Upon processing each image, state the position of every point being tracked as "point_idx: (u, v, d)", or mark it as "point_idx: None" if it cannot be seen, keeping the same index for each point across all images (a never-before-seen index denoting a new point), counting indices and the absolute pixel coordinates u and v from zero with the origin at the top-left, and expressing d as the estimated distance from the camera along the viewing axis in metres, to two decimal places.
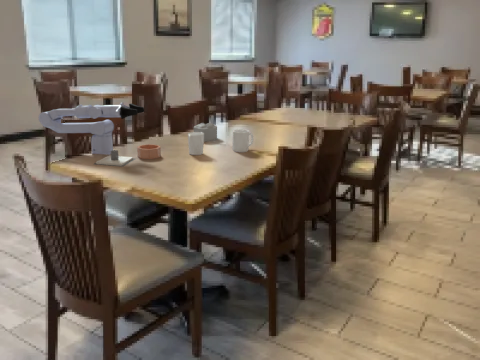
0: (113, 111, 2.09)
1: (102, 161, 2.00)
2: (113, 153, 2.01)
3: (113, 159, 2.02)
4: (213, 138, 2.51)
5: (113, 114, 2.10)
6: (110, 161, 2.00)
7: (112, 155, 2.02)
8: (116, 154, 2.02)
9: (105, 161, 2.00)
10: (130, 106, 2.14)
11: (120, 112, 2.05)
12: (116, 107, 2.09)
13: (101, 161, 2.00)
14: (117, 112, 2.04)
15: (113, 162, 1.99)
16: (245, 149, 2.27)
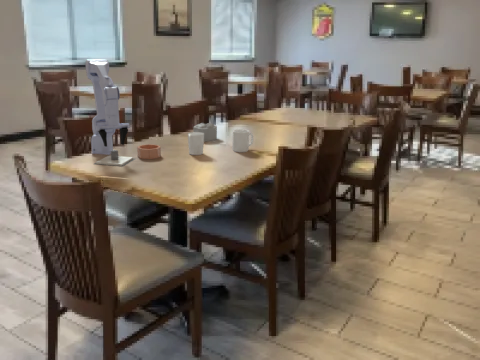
0: (106, 118, 1.96)
1: (102, 161, 2.00)
2: (113, 153, 2.01)
3: (113, 159, 2.02)
4: (213, 138, 2.51)
5: (105, 117, 1.97)
6: (110, 161, 2.00)
7: (112, 155, 2.02)
8: (116, 154, 2.02)
9: (105, 161, 2.00)
10: (122, 130, 2.00)
11: (99, 131, 1.96)
12: (109, 121, 1.96)
13: (101, 161, 2.00)
14: (96, 129, 1.95)
15: (113, 162, 1.99)
16: (245, 149, 2.27)
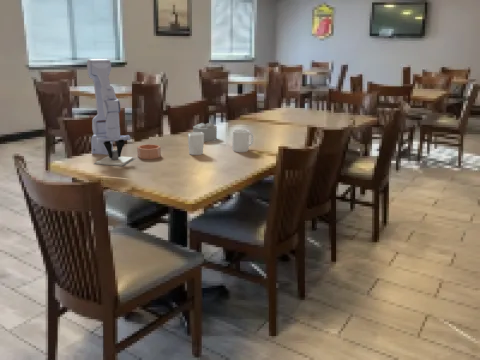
0: (107, 131, 1.98)
1: (102, 161, 2.00)
2: (113, 153, 2.01)
3: (113, 159, 2.02)
4: (213, 138, 2.51)
5: None
6: (110, 161, 2.00)
7: (112, 155, 2.02)
8: (116, 154, 2.02)
9: (105, 161, 2.00)
10: (119, 143, 2.01)
11: (104, 143, 1.99)
12: (110, 134, 1.97)
13: (101, 161, 2.00)
14: (97, 141, 1.97)
15: (113, 162, 1.99)
16: (245, 149, 2.27)
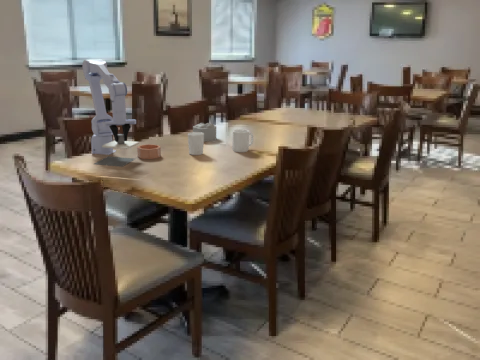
0: (113, 114, 1.98)
1: (108, 145, 2.00)
2: (119, 137, 2.01)
3: (119, 143, 2.02)
4: (212, 138, 2.51)
5: None
6: (116, 145, 2.00)
7: (118, 139, 2.01)
8: (122, 138, 2.02)
9: (111, 145, 2.00)
10: (125, 127, 2.01)
11: (110, 126, 1.99)
12: (116, 117, 1.97)
13: (107, 145, 2.00)
14: (103, 125, 1.97)
15: (119, 146, 1.99)
16: (245, 149, 2.27)
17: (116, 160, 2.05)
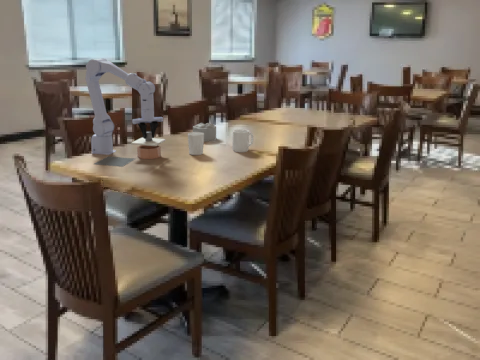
0: (142, 112, 2.06)
1: (137, 142, 2.08)
2: (147, 134, 2.09)
3: (147, 140, 2.10)
4: (212, 138, 2.51)
5: (141, 111, 2.07)
6: (145, 142, 2.08)
7: (146, 136, 2.10)
8: (150, 135, 2.10)
9: (140, 142, 2.08)
10: (153, 124, 2.09)
11: (139, 124, 2.07)
12: (145, 115, 2.05)
13: (136, 142, 2.08)
14: (133, 122, 2.05)
15: (148, 143, 2.07)
16: (245, 149, 2.27)
17: (116, 160, 2.05)
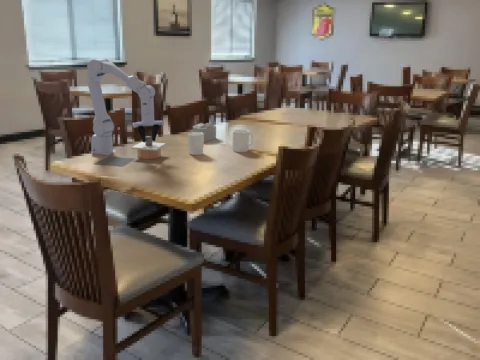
0: (142, 116, 2.06)
1: (137, 146, 2.09)
2: (147, 139, 2.10)
3: (147, 145, 2.11)
4: (212, 138, 2.51)
5: (141, 114, 2.08)
6: (145, 146, 2.09)
7: (147, 141, 2.10)
8: (150, 140, 2.11)
9: (140, 146, 2.09)
10: (154, 127, 2.10)
11: (138, 127, 2.07)
12: (145, 119, 2.06)
13: (136, 146, 2.09)
14: (133, 126, 2.05)
15: (148, 147, 2.08)
16: (245, 149, 2.27)
17: (116, 160, 2.05)
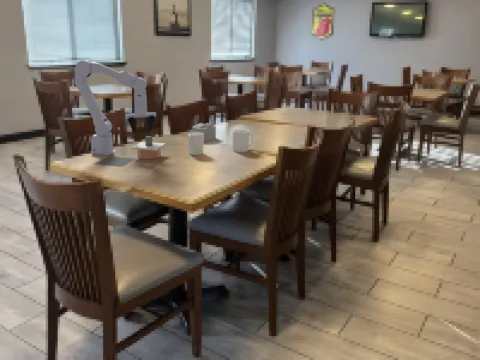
0: (135, 107, 2.12)
1: (137, 146, 2.09)
2: (147, 139, 2.10)
3: (147, 145, 2.11)
4: (212, 138, 2.51)
5: None
6: (145, 146, 2.09)
7: (147, 141, 2.10)
8: (150, 140, 2.11)
9: (140, 146, 2.09)
10: (149, 118, 2.16)
11: (128, 119, 2.12)
12: (138, 110, 2.12)
13: (136, 146, 2.09)
14: (126, 117, 2.11)
15: (148, 147, 2.08)
16: (245, 149, 2.27)
17: (116, 160, 2.05)
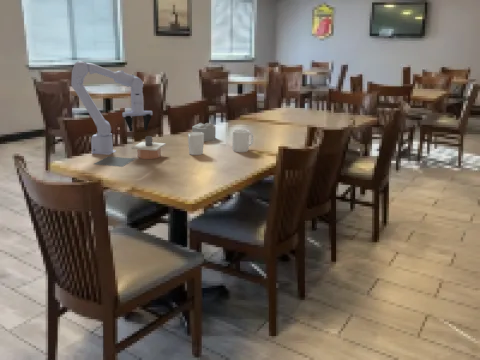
0: (131, 106, 2.16)
1: (137, 146, 2.09)
2: (147, 139, 2.10)
3: (147, 145, 2.11)
4: (212, 138, 2.51)
5: (131, 105, 2.17)
6: (145, 146, 2.09)
7: (147, 141, 2.10)
8: (150, 140, 2.11)
9: (140, 146, 2.09)
10: (146, 117, 2.20)
11: (125, 117, 2.15)
12: (135, 109, 2.15)
13: (136, 146, 2.09)
14: (123, 115, 2.15)
15: (148, 147, 2.08)
16: (245, 149, 2.27)
17: (116, 160, 2.05)
